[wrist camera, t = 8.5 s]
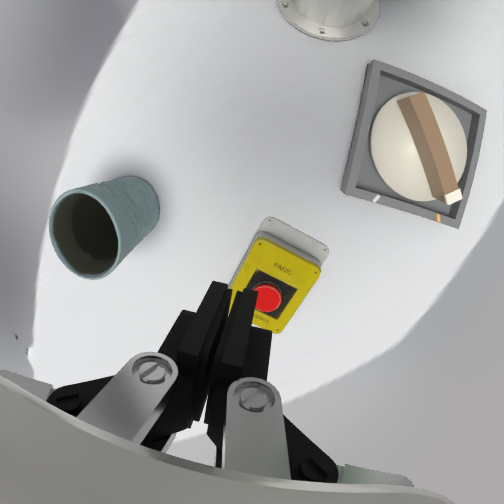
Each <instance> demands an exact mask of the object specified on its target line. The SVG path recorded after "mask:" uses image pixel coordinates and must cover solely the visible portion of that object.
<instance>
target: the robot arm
mask: <svg viewBox="0 0 504 504" xmlns="http://www.w3.org/2000/svg"><path fill="white" fill-rule="evenodd" d="M277 4H278V7H279V9H280V11H281V13H282V15H283V16H284V17H285V18H286V19H287V21H288V22H289V23H291V24H292V25H293V26H294V27H295V28H297V29H298V30H300V31H302V32H303V33H305V34H308V35H310V36H312V37H316V38H319V39H323V40H331V41H344V40H349V39H354V38H356V37H359V36H361V35H363V34H364V33H366V32H367V31H368V30H369V29H370V28H371V27H372V26H373V25H374V23H375V22H376V21H377V18H378V16H379V11H380V3H379V0H277ZM285 6H287V8H284V7H285ZM362 24H364V25H365V26H366V27H365V26H363V25H362ZM320 32H323V33H324V34H320ZM232 292H233V289H229V288H228V284H225V283H221V282H216V281H212V283H211V285H210V287H209V289H208V291H207V293H206V295H205V297H204V299H203V300H202V302H201V304H200V306H199V308H198V310H197V312H196V313H195V312H191V311H187V310H182V312H181V313H180V315H179V316H178V318H177V320H176V321H175V323H174V325H173V327H172V328H171V330H170V332H169V333H168V335H167V337H166V339H165V340H164V342H163V344H162V345H161V347H160V349H159V351H158V352H144V353H140V354H138V355H135V356H134V357H133V358H131V359H130V360H129V361H128V362H127V363H126V364H125V365H124V367H123V368H122V369H121V370H120V371H119V372H118V373H117V374H116V375H114V376H109V377H105V378H101V379H96V380H92V381H87V382H82V383H77V384H72V385H67V386H63V387H60V388H58V389H54V388H53V385H51V384H47V383H44V382H41V381H37V380H34V379H31V378H28V377H24V376H22V375H18V374H16V373H13V372H10V371H7V370H0V504H454V503H453V502H452V501H451V500H449V499H448V498H447V497H445V496H443V495H440V494H438V493H435V492H431V491H428V490H424V489H419V488H415V487H414V485H413V484H412V482H411V481H410V480H409V479H408V478H406V477H405V476H402V475H398V474H392V473H386V472H380V471H375V470H370V469H365V468H361V467H356V466H351V465H348V464H345V465H344V466H339V465H336V464H335V463H334V461H333V460H332V459H331V458H330V457H329V456H328V455H326V454H325V453H324V452H323V451H322V450H321V449H320V448H319V447H317V446H316V445H315V444H314V443H313V442H312V441H311V440H310V439H308V438H307V437H306V436H305V435H304V434H303V433H302V432H301V431H300V430H299V429H298V428H297V427H296V426H295V425H293V423H291V422H290V421H289V420H288V419H287V418H286V417H285V416H284V415H283V411H282V403H281V397H280V394H279V392H278V390H277V389H276V388H275V387H274V386H273V385H272V384H270V383H269V382H267V374H268V365H269V357H270V348H271V339H272V330H267V329H262V328H258V327H253V326H251V325H252V321H253V316H254V311H255V307H256V302H257V297H258V292H259V291H256V290H251V289H247V288H244V289H243V292H242V291H238V290H237V292H236V295H235V298H234V301H233V304H232V307H231V310H230V313H229V308H230V303H231V297H232ZM228 314H229V316H228ZM207 396H208V398H207ZM206 399H207V405H206V412H205V418H204V423H206V424H208V430H207V435H208V436H209V438H210V439H211V440H212V441H213V443H214V444H215V445H216V447H215V457H214V467H213V466H208V465H204V464H200V463H196V462H193V461H189V460H185V459H182V458H178V457H175V456H172V455H169V454H166V452H167V450H168V449H169V447H170V445H171V444H172V442H173V440H174V439H175V436H176V432H179V431H182V430H185V429H187V428H191V425H192V422H193V420H194V421H198V422H199V420H200V418H201V414H202V411H203V408H204V405H205V402H206Z"/></svg>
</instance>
